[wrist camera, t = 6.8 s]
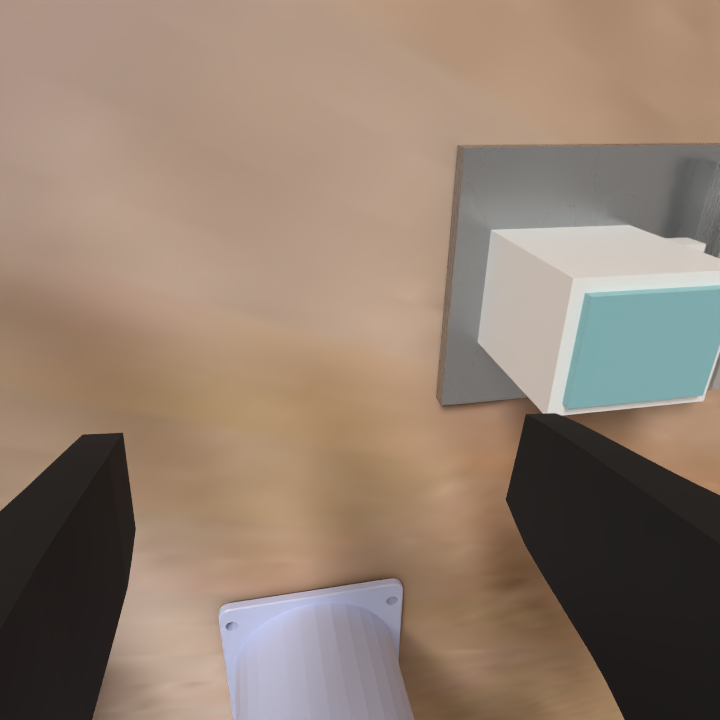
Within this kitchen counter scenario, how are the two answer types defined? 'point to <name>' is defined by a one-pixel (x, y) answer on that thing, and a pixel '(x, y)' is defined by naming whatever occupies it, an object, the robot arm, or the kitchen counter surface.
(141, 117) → the kitchen counter surface
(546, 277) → the block
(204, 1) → the kitchen counter surface
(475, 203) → the plate
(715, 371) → the rail
